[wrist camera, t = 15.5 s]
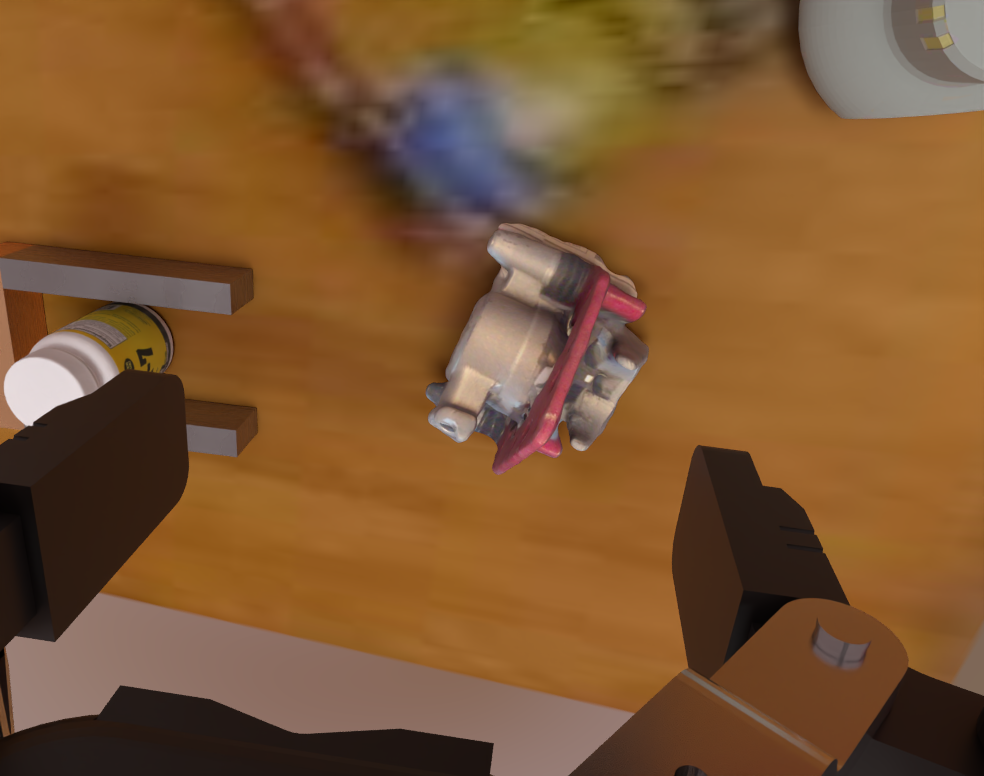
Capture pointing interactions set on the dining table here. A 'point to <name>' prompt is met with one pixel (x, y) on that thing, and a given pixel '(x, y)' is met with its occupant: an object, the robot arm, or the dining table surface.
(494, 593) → the dining table surface
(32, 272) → the frame
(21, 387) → the supplement bottle
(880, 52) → the air freshener
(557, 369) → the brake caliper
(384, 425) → the dining table surface
